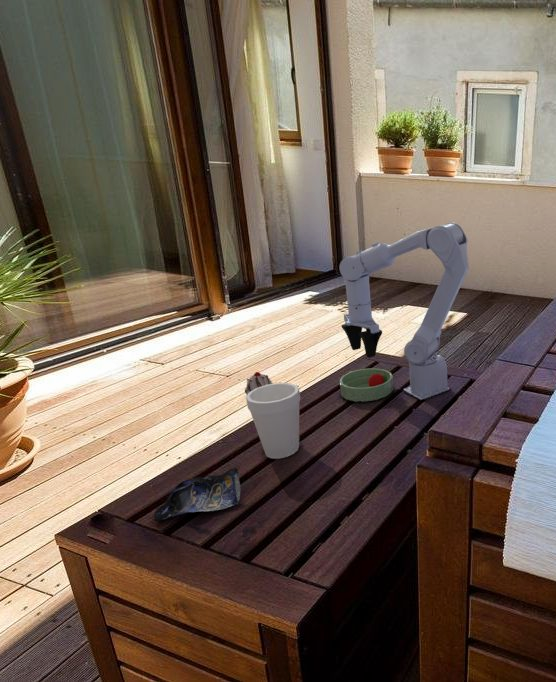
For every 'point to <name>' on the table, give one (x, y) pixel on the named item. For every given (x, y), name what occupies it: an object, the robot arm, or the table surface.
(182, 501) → the snack package
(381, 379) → the tomato
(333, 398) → the table surface
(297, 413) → the foam cup
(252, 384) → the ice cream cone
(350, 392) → the bowl
